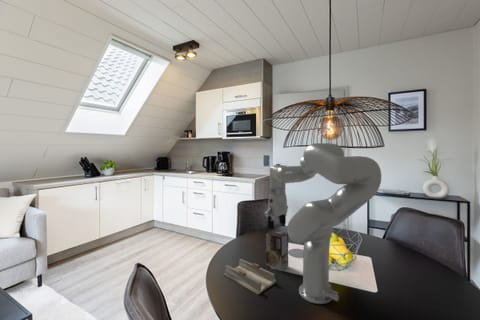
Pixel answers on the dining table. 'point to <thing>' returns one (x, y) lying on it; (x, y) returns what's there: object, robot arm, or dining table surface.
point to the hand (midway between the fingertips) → (276, 226)
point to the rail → (250, 276)
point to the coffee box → (277, 250)
